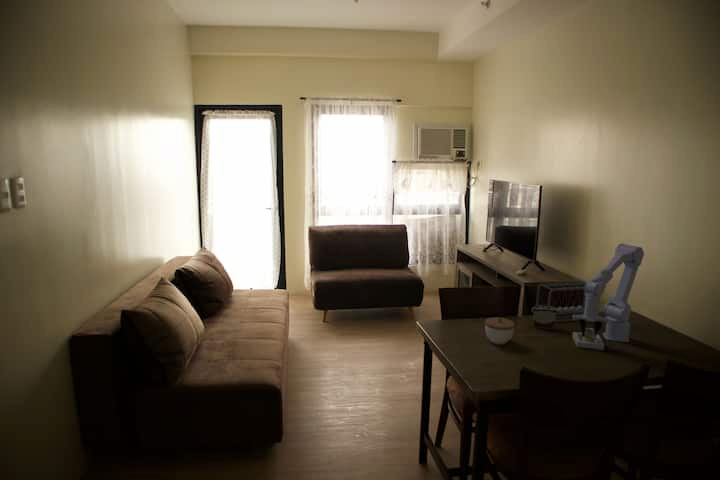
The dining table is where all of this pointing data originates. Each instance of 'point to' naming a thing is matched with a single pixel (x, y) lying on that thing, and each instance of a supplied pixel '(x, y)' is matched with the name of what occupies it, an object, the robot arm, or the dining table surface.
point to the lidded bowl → (499, 330)
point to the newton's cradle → (566, 309)
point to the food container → (544, 316)
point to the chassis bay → (580, 343)
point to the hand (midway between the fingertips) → (588, 336)
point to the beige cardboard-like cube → (589, 335)
